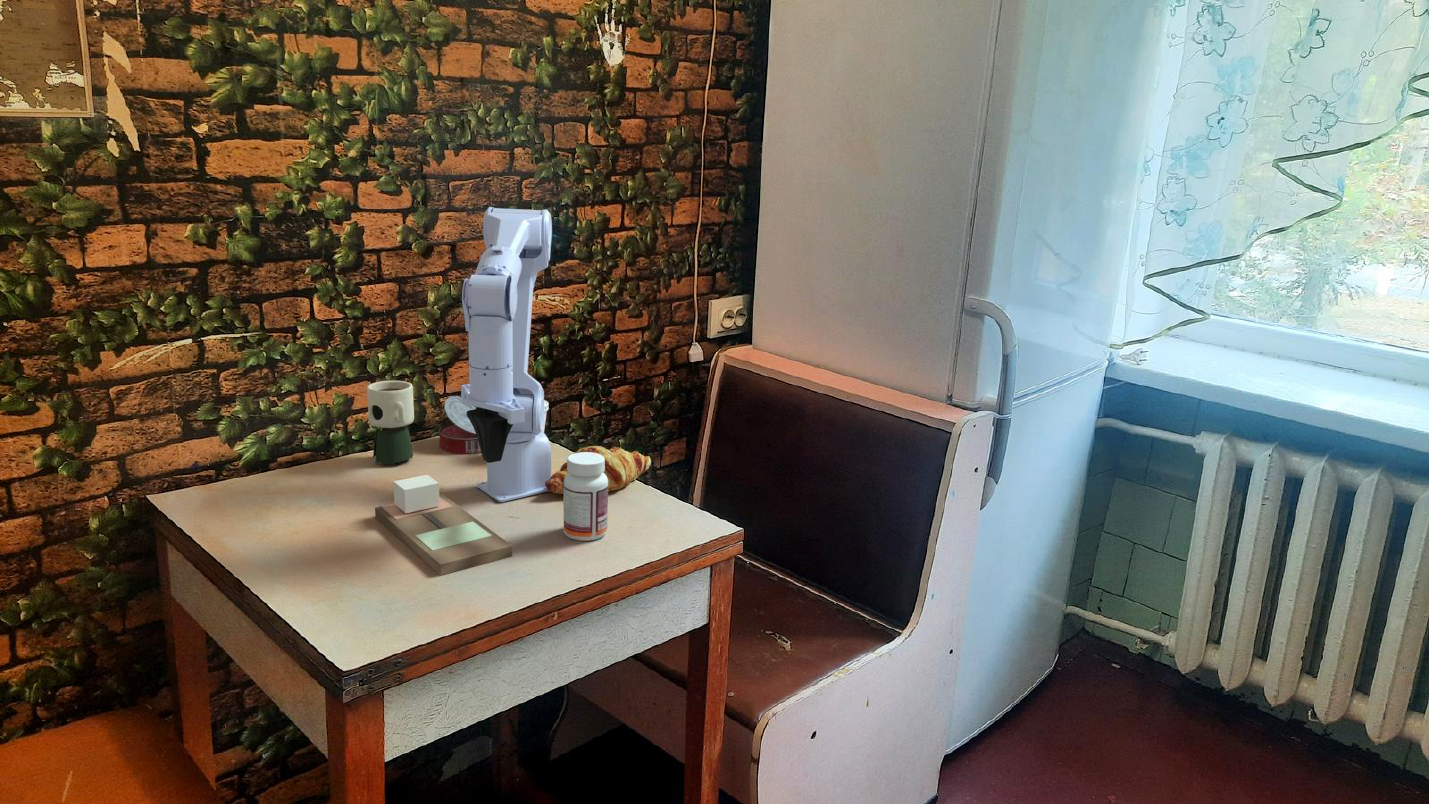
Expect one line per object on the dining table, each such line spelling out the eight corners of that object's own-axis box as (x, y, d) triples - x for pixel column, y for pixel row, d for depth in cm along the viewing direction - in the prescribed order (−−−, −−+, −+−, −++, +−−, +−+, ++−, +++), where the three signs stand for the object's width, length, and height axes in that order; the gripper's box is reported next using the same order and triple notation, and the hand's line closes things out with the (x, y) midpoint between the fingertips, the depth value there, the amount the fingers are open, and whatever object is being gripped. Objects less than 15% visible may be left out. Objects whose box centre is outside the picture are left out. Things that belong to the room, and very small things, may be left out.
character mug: (361, 454, 160) (356, 380, 156) (403, 448, 164) (399, 375, 160) (382, 474, 151) (378, 396, 148) (426, 467, 155) (423, 391, 152)
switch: (441, 502, 142) (441, 492, 141) (512, 556, 125) (512, 545, 125) (375, 517, 135) (374, 506, 135) (440, 575, 119) (440, 563, 119)
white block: (427, 497, 139) (427, 474, 138) (439, 505, 136) (438, 483, 135) (394, 504, 136) (393, 481, 135) (405, 513, 133) (404, 490, 132)
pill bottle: (598, 522, 138) (600, 448, 135) (613, 538, 132) (615, 462, 129) (557, 527, 135) (558, 453, 132) (571, 545, 130) (571, 467, 127)
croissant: (636, 484, 162) (623, 440, 163) (674, 472, 155) (660, 426, 156) (536, 514, 147) (522, 464, 147) (574, 502, 140) (559, 450, 141)
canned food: (472, 460, 173) (492, 409, 174) (498, 471, 166) (518, 417, 167) (417, 441, 166) (438, 388, 167) (441, 451, 158) (463, 396, 159)
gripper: (439, 356, 129) (442, 450, 133) (488, 380, 119) (490, 481, 122) (486, 351, 134) (488, 442, 137) (538, 373, 123) (538, 471, 127)
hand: (492, 460), depth 130 cm, fingers closed
